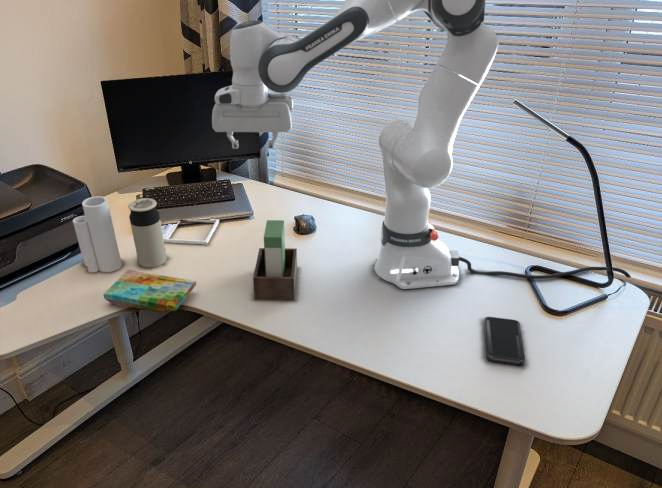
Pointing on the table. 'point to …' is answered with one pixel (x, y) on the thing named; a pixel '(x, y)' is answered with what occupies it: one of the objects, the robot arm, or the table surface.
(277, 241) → the tea packet
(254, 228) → the table surface
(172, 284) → the puzzle game
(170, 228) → the photo frame
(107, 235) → the vase
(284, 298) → the box
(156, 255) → the travel mug
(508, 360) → the phone
